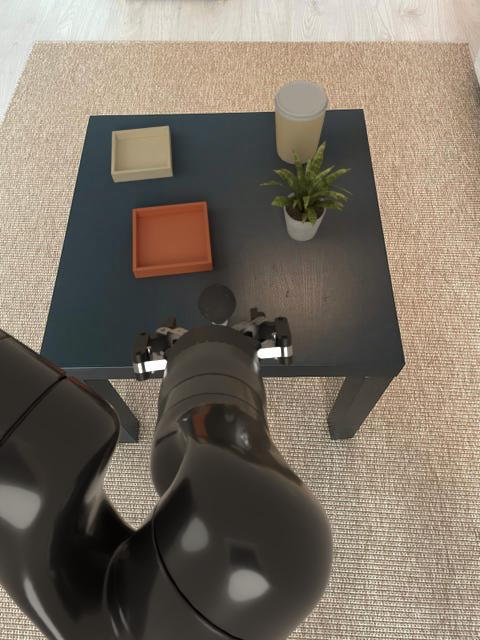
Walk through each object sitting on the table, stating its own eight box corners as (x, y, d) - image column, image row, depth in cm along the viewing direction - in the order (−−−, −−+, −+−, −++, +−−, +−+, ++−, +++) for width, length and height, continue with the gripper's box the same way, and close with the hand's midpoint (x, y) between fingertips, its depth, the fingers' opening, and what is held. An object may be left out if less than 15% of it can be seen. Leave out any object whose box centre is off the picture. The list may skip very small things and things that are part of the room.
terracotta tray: (135, 278, 82) (132, 271, 80) (135, 217, 88) (132, 208, 85) (213, 270, 82) (211, 262, 80) (207, 209, 88) (206, 201, 86)
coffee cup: (315, 130, 96) (322, 76, 85) (324, 165, 92) (333, 112, 81) (269, 135, 96) (270, 81, 85) (276, 170, 91) (278, 118, 81)
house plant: (281, 280, 80) (286, 218, 66) (243, 222, 86) (240, 153, 72) (353, 247, 83) (373, 180, 68) (312, 192, 89) (322, 120, 74)
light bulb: (204, 308, 79) (198, 276, 70) (238, 309, 78) (236, 277, 69) (201, 339, 76) (194, 310, 67) (236, 340, 76) (233, 311, 67)
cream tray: (114, 182, 91) (111, 173, 89) (115, 140, 96) (112, 131, 94) (172, 176, 92) (170, 167, 90) (170, 134, 97) (168, 125, 95)
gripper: (306, 332, 34) (278, 279, 49) (105, 354, 34) (140, 294, 49) (312, 425, 36) (283, 346, 52) (124, 446, 36) (151, 361, 51)
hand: (213, 321), depth 50 cm, fingers open, 8 cm apart
